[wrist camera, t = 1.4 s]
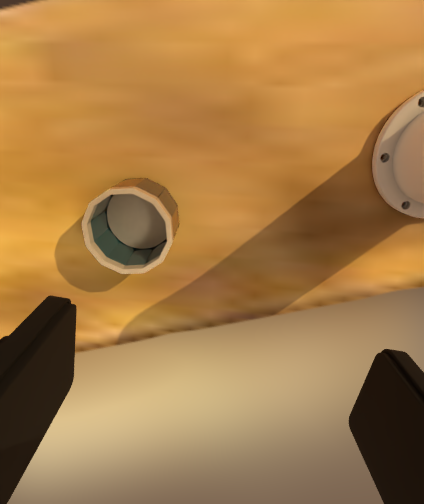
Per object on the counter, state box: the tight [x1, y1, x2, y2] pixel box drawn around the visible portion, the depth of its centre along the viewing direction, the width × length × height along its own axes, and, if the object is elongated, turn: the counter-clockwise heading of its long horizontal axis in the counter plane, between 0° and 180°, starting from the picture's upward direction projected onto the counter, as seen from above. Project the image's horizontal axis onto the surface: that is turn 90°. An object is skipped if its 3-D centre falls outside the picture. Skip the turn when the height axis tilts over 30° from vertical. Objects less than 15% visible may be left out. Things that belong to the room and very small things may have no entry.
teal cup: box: [81, 178, 179, 274], centre depth 32 cm, size 8×8×6 cm
